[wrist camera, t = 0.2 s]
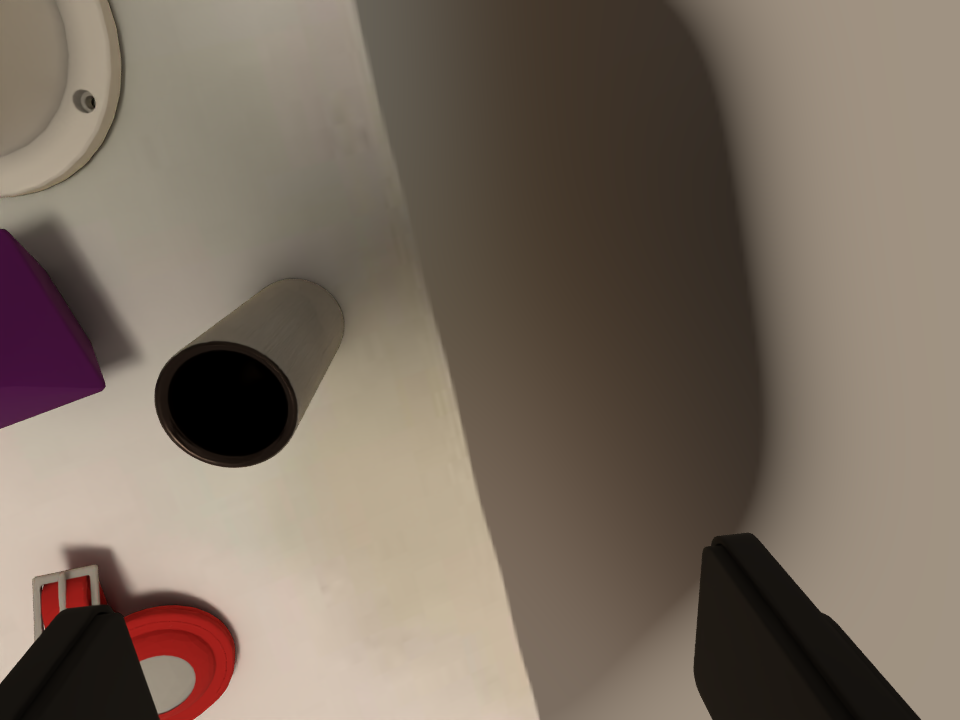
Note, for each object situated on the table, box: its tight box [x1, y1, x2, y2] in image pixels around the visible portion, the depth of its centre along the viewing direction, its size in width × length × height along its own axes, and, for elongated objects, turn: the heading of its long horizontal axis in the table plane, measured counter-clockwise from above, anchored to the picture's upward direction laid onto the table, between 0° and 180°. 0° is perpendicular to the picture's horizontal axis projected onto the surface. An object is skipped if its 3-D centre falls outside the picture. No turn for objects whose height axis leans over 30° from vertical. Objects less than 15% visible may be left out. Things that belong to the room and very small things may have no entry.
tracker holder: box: [32, 565, 235, 720], centre depth 32 cm, size 12×4×10 cm
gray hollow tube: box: [155, 279, 344, 468], centre depth 23 cm, size 4×4×10 cm
